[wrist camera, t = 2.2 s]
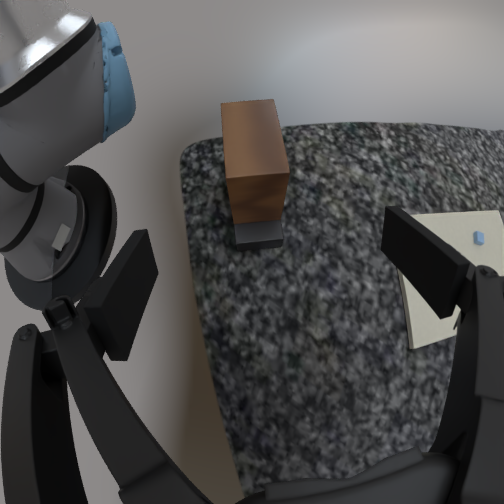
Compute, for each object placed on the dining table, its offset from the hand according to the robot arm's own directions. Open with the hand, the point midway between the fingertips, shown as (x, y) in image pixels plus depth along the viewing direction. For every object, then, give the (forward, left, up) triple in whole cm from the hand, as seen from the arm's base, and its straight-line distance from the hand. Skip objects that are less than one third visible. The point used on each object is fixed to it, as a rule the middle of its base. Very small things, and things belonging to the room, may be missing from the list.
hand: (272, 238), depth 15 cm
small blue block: (+29, +2, -13) cm, 32 cm away
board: (+26, -2, -14) cm, 30 cm away
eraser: (0, +10, -14) cm, 17 cm away
